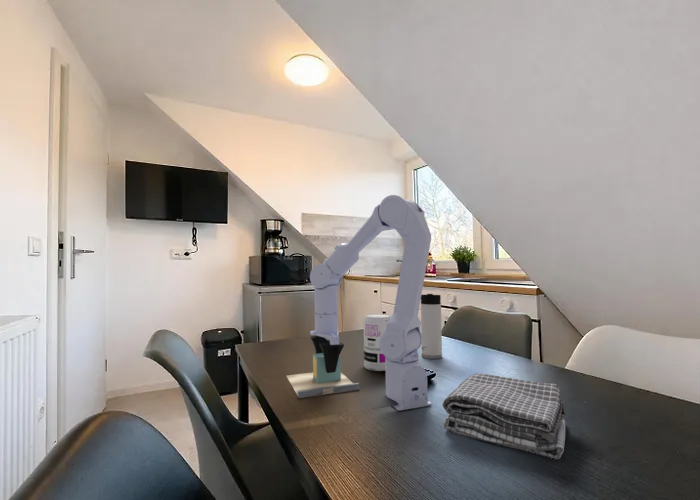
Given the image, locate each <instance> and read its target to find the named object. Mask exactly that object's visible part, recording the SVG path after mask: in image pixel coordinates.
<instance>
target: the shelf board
mask: <svg viewBox="0 0 700 500" xmlns="http://www.w3.org/2000/svg"><path fill="white" fill-rule="evenodd" d="M286 378H287V380H288V382H289V384H290V385H291V387H292V388H293V390H294V392H295V394H296V396H297V397H298V399H302V398H309V397H316V396H322V395H328V394H330V395H331V394H336V393H344V392H353V391H358V390H360V388H361V387H360V382H352V381H351V380H350V379H349V378H348V377H347V376H346V375H345V374H344V373H342V372H341V380H337V381H330V382H322V383H317V382H316V381H315V380H314V378H313V371H312V372H306V373H305V372H304V373H296V374H290V375H286Z"/></svg>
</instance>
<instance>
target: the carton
mask: <svg viewBox="0 0 700 500" xmlns="http://www.w3.org/2000/svg"><path fill="white" fill-rule="evenodd" d="M341 358H342V357H341V354H340V355H339V358H338V363H337V368H336V371H335V372H333V373H327V372H326V368H325V361H324V355H323V353H317V354H316V353H312V369H313V370H312V372H313V378H314V380H315V381H316V382H317V383H322V382H330V381H337V380H341V373H342V372H341V371H342V368H341V367H342V366H341V365H342V363H341V361H342V360H341Z"/></svg>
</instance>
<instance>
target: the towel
mask: <svg viewBox="0 0 700 500" xmlns="http://www.w3.org/2000/svg"><path fill="white" fill-rule="evenodd" d="M561 392H562V390H561V387H560V386H559V385H557V384H556V383H547V382H546V383H545V382H538V381H530V380H523V379H518V378H512V377H507V376H499V375H494V374H493V375H492V374H488V373H475V374H472V375H470V376H468V377H466V378H465V379H464V380H463V381H462V382H460V384H459V386H457V388H455V389H454V390H453V391H452V392H450V393H449V394H448V396H446V398H445V399H444V400H443V403H442V407H443V409H444V410H445V411H446V413H447V415H446V418H445V420H444V423H443V424H444V425H443V427H444V429H446V430H448V431H450V432H452V433H454V434H457V435H461V436H465V437H467V438H471V439H475V440H481V441H484V442H488V443H491V444H496V445H501V446H504V447H506V448H507V447H508V448H511V449H512V448H513V449H518V450H520V451H522V450H523V451H524V452H528V451H529V453H533V454H535V453H536V455H539V456H543V457H546V456H547V458H549V457H550V458H549V459H552V458H554V459H553V460H560V459H561V457H562V455H563V453H564V450H565V449H564V448H565V442H566V441H565V440H566V421H565V417H566V416H567V413H566V412H567V411H565V406H564V404H565V403H564V402H565V401H564V399H562V397H561V396H562V394H561Z"/></svg>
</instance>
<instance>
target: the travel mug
mask: <svg viewBox="0 0 700 500" xmlns="http://www.w3.org/2000/svg"><path fill="white" fill-rule="evenodd" d="M441 298H442V297H441V294H434V293H427V294H422V295H421V300H420V322H421V326H420V332H421V335H422V344H421V346H420V347H421V356H422V358H424V359H428V360H439V359H441V358H442V357H443V352H442V351H443V345H442V344H443V341H442V339H443V338H442V336H443V335H442V334H443V332H442V305H441V304H442V303H441Z"/></svg>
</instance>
